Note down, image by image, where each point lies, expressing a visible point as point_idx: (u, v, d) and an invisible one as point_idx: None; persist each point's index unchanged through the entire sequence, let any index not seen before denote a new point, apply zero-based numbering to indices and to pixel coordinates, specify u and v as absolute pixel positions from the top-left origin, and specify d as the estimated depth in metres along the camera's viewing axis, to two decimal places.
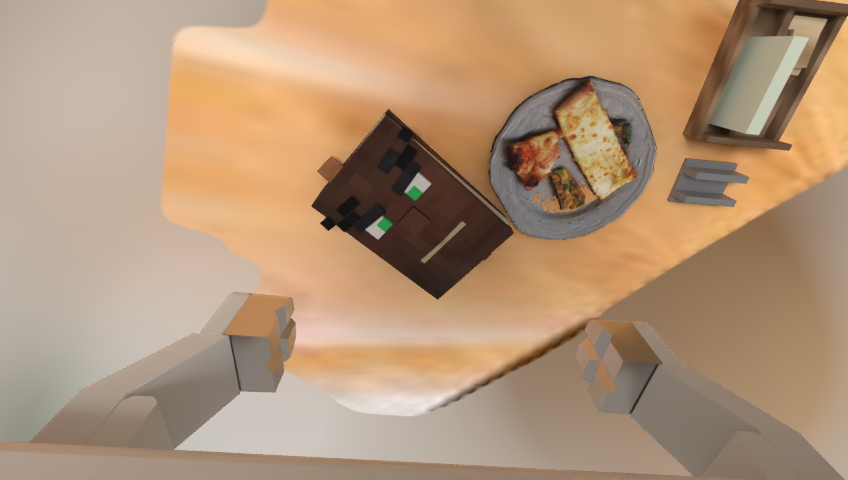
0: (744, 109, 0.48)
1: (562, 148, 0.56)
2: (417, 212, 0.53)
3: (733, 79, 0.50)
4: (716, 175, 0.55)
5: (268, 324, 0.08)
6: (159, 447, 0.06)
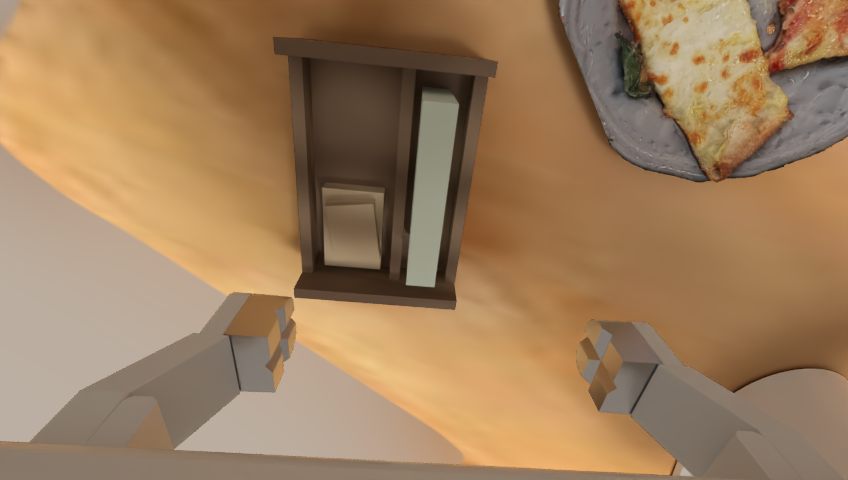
0: None
1: (763, 20, 0.24)
2: None
3: None
4: None
5: (268, 324, 0.08)
6: (159, 447, 0.06)
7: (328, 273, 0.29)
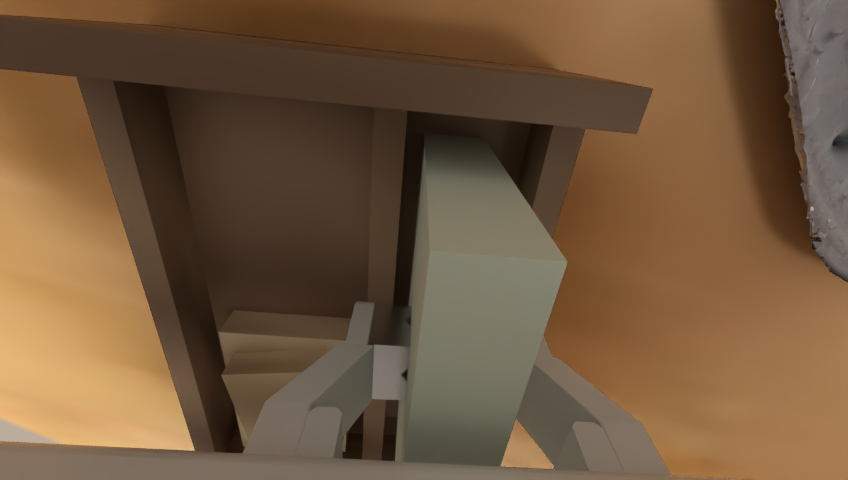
0: None
1: None
2: None
3: None
4: None
5: (405, 334, 0.09)
6: (339, 456, 0.07)
7: None
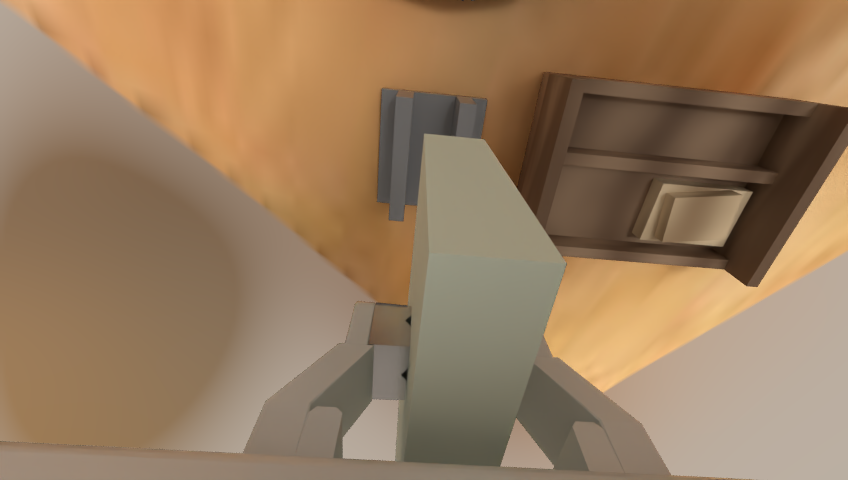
0: None
1: None
2: None
3: None
4: None
5: (405, 333, 0.09)
6: (339, 456, 0.07)
7: (735, 245, 0.27)
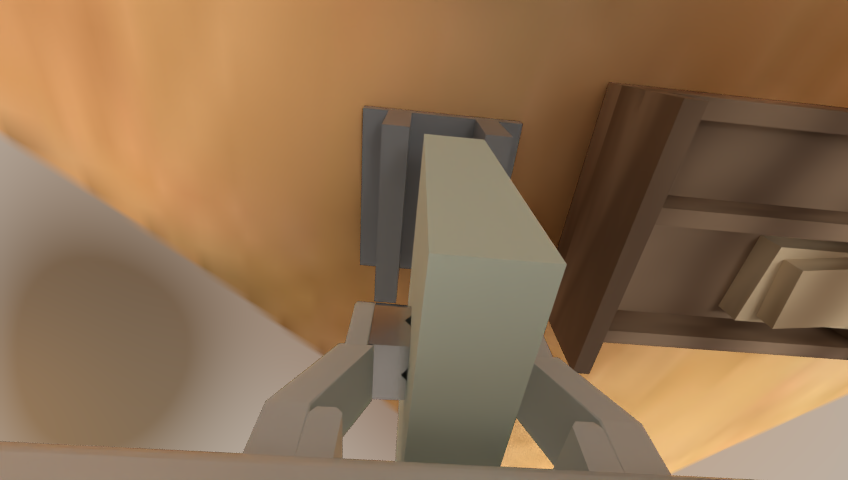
0: None
1: None
2: None
3: None
4: None
5: (405, 334, 0.09)
6: (339, 456, 0.07)
7: None
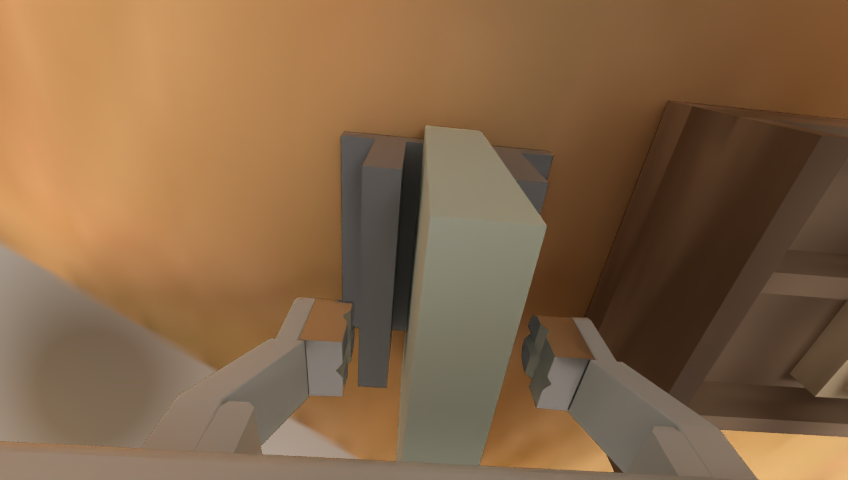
0: None
1: None
2: None
3: None
4: None
5: (339, 329, 0.08)
6: (253, 452, 0.06)
7: None
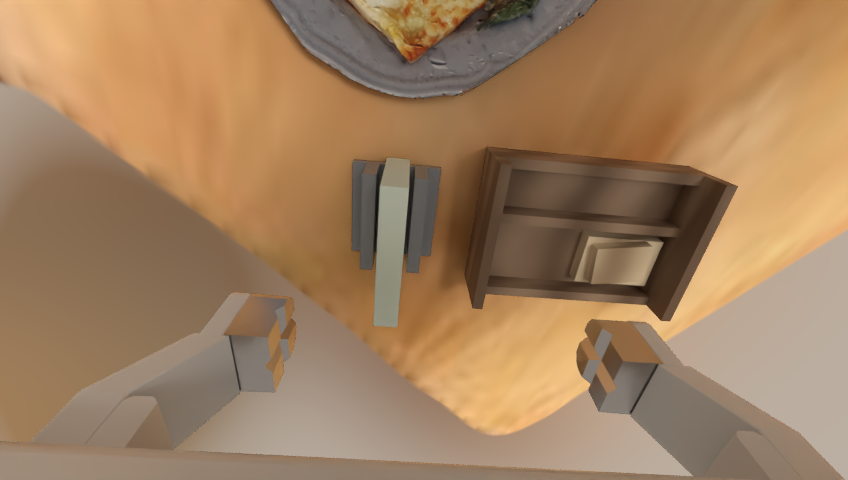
0: None
1: None
2: None
3: None
4: (421, 216, 0.28)
5: (268, 324, 0.08)
6: (159, 447, 0.06)
7: (653, 285, 0.32)
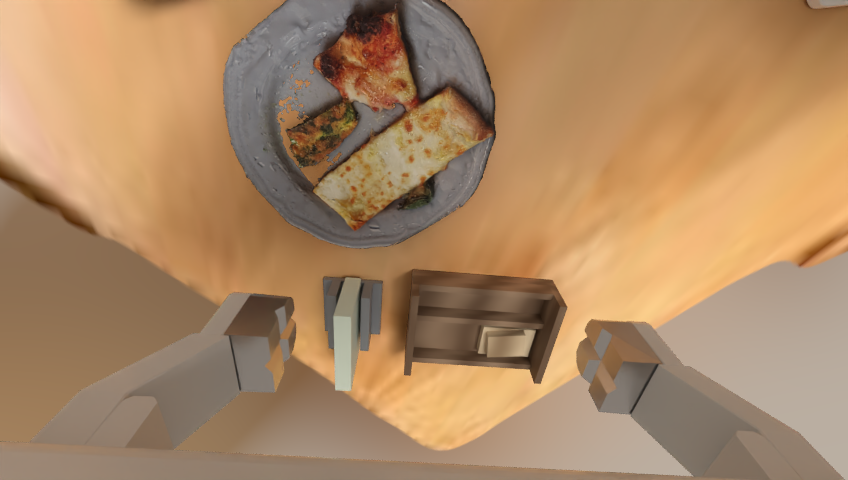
0: (354, 324, 0.40)
1: (387, 114, 0.35)
2: None
3: (359, 323, 0.46)
4: (367, 318, 0.43)
5: (268, 324, 0.08)
6: (159, 447, 0.06)
7: (532, 357, 0.47)
